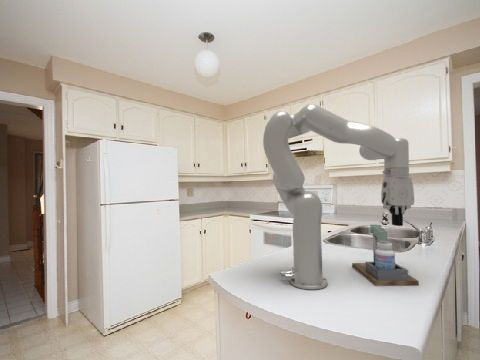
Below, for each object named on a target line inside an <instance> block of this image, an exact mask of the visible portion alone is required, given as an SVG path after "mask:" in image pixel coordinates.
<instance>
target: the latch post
mask: <svg viewBox="0 0 480 360" xmlns="http://www.w3.org/2000/svg"><path fill="white" fill-rule="evenodd" d="M378 242H381V241H380V240H379V239H378V238H377V237H376V236H375V235H374V234H373V233H372V252H373V254H372V255H373V256H372V257H373V262H375V250H376V249H378V247H377V243H378Z"/></svg>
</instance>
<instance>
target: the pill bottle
mask: <svg viewBox="0 0 480 360" xmlns="http://www.w3.org/2000/svg"><path fill="white" fill-rule="evenodd" d="M377 247H378V249H376V250H375V267H377V268H378V269H395V263H396V254H395V251H394V250H393V243H391V242H388V241H380V242H378V243H377Z"/></svg>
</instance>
